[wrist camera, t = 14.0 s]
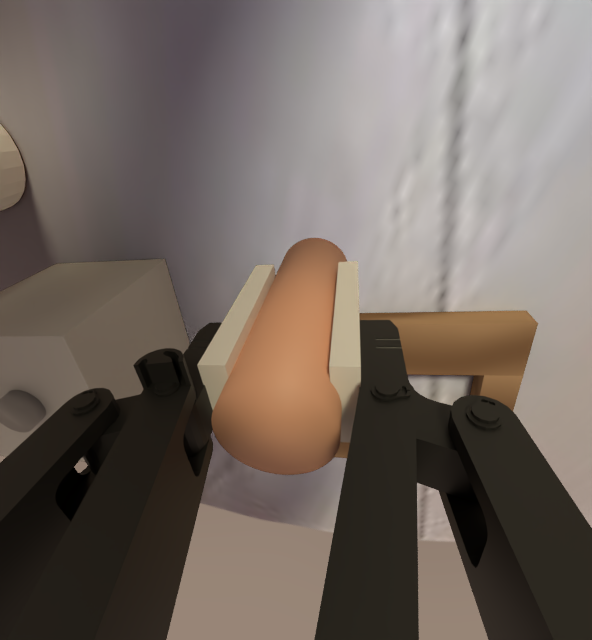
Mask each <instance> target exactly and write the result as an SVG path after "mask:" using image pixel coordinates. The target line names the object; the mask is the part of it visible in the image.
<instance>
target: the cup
mask: <svg viewBox="0 0 592 640" xmlns="http://www.w3.org/2000/svg"><path fill="white" fill-rule="evenodd" d="M25 181H26V178H25V170H24V164H23V162H22V159H21V156H20V153H19V150H18V149H17V147H16V145H15V143H14V142H13V140H12V138H11V136H10V135H9V134H8V132H7V131H6V130H5V129H4V128H3V126H2V125H1V124H0V211H2V210H4V209H7V208H9V207H11V206H13V205H14V204H15V203H17V202H18V201H19V200H20V198H21V196H22V194H23V192H24V188H25Z"/></svg>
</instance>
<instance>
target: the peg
mask: <svg viewBox="0 0 592 640" xmlns="http://www.w3.org/2000/svg"><path fill="white" fill-rule="evenodd" d="M339 262H347V260H346V257H345V255H344V254H343V252H342V251H341V250H340V249H339V248H338V247H337V246H336V245H335V244H333V243H332V242H330V241H327V240H325V239H321V238H308V239H304V240H301V241H299V242H297V243H296V244H294V245H293V246H292V247H291V248H290V249H289V250H288V252H287V253H286V255H285V257H284V259H283V261H282V263H281V266H280V268H279V270H278V272H277V274H276V277H275V279H274V281H273V283H272V285H271V287H270V290H269V292H268V294H267V296H266V298H265V300H264V302H263V305H262V307H261V309H260V311H259V313H258V315H257V317H256V320H255V322H254V324H253V326H252V328H251V330H250V333H249V335H248V337H247V339H246V341H245V343H244V345H243V348H242V350H241V352H240V354H239V356H238V358H237V361H236V363H235V365H234V367H233V369H232V371H231V373H230V376H229V378H228V380H227V381H226V383H225V385H224V388H223V390H222V392H221V394H220V396H219V398H218V400H217V403H216V405H215V407H214V409H213V412H212V418H211V421H212V428H213V432H214V434H215V437H216V438H217V440H218V442H219V443H220V444H221V445H222V447H223V448H224V449H225V450H226V451H227V452H228V453H229V454H231V455H232V456H233V457H234V458H236V459H237V460H239V461H240V462H242V463H244V464H246V465H248V466H250V467H252V468H255V469H258V470H261V471H265V472H269V473H274V474H282V475H294V474H303V473H307V472H311V471H314V470H317V469H319V468H321V467H323V466H324V465H326V464H327V463H328V462H330V461H331V460H332V459H333V458H334V456H335V455H336V453H337V451H338V449H339V446H340V439H341V418H342V404H341V400H340V396H339V394H338V392H337V390H336V389H335V387H334V386H333V384H332V383H331V382H330V373H329V362H330V351H331V340H332V329H333V318H334V307H335V296H336V285H337V274H338V263H339Z"/></svg>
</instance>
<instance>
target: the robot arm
mask: <svg viewBox="0 0 592 640" xmlns="http://www.w3.org/2000/svg"><path fill="white" fill-rule="evenodd" d="M275 277H276V276H275V269H274V265H256V266H255V268H254V270H253V271H252V273H251V275H250V277H249V278H248V280H247V282H246V283H245V285H244V287H243V288H242V290H241V292H240V293H239V295H238V297H237V299H236V300H235V302H234V304H233V305H232V307H231V309H230V310H229V312H228V314H227V316H226V317H225V319H224V321H223V322H222V323H209V324H207V325H206V326H205V327H203V328H202V329H201V330H199V332H198V333H197V335H196V336H195V338H194V339H193V342H191V344H190V345H189V347H188V349H186V351H185V352H184V354H182V352H181V351H180V350H177V349H174V348H164V349H159V350H155V351H153V352H150V353H148V354H146V355H144V356H143V357H141V358H140V359H138V360H137V362H136V363H135V364H134V365H133V366H134V368H135V371H136V373H137V375H138V378H139V380H140V382H141V384H142V387H143V391H142V393H141V394H139V395H135V396H131V397H126V398H121V399H116V400H115V398H114V396H113V394H112V393H111V391H110V390H109V389H106V388H93V389H90V390H86V391H83V392H81V393H79V394H77V395H75V396H74V397H72V398H71V399H70V400H68V401H67V402H66V403H65V404H64V405H62V406H61V407H60V408H59V409H58V410H57V411H56V412H55V413H54V414H53V415H52V416H51V417H49V418H48V419H47V420H46V421H45V422H44V423H43V424H42V425H41V426H40V427H39V428H38V429H36V430H35V431H34V432H33V433H32V434H31V435H30V436H29V437H28V438H27V439H26V440H24V441H23V442H22V443H21V444H20V445H19V446H18V447H17V448H16V449H15V450H14V451H13V452H11V453H10V454H9V455H8V456H7V457H6V458H5V459H4V460H3V461H2V462H1V463H0V640H166V638H167V634H168V630H169V626H170V622H171V618H172V614H173V609H174V606H175V602H176V597H177V594H178V590H179V585H180V582H181V577H182V573H183V569H184V565H185V561H186V557H187V553H188V549H189V545H190V541H191V536H192V533H193V529H194V525H195V521H196V516H197V512H198V508H199V504H200V500H201V496H202V492H203V488H204V484H205V480H206V476H207V472H208V468H209V464H210V460H211V456H212V452H213V442H212V439H211V436H210V435H211V433H212V430H213V428H212V421H211V418H212V412H213V409H214V407H215V405H216V403H217V400H218V398H219V396H220V394H221V392H222V390H223V388H224V385H225V383H226V381H227V380H228V378H229V376H230V373H231V371H232V369H233V367H234V365H235V363H236V361H237V358H238V356H239V354H240V352H241V350H242V348H243V345H244V343H245V341H246V339H247V337H248V335H249V333H250V330H251V328H252V326H253V324H254V322H255V320H256V317H257V315H258V313H259V311H260V309H261V307H262V305H263V302H264V300H265V298H266V296H267V294H268V292H269V290H270V287H271V285H272V283H273V281H274V279H275ZM329 373H330V382H331V383H332V384H333V386H334V387H335V389H336V390H337V392H338V394H339V396H340V400H341V404H342V418H341V439H340V442H349V443H350V444H349V450H348V456H347V461H346V467H345V472H344V478H343V484H342V489H341V495H340V500H339V506H338V511H337V517H336V523H335V528H334V534H333V539H332V545H331V551H330V556H329V562H328V567H327V573H326V579H325V584H324V590H323V596H322V601H321V606H320V612H319V618H318V623H317V629H316V635H315V640H419V634H418V633H419V632H418V552H417V551H418V547H417V483H420V484H423V485H426V486H428V487H431V488H434V489H436V490H439V493H440V496H441V499H442V502H443V505H444V508H445V511H446V514H447V517H448V520H449V523H450V526H451V529H452V532H453V535H454V538H455V541H456V544H457V546H458V550H459V552H460V555H461V559H462V561H463V565H464V567H465V571H466V574H467V577H468V580H469V583H470V586H471V588H472V592H473V594H474V597H475V600H476V603H477V606H478V609H479V612H480V615H481V618H482V621H483V624H484V627H485V630H486V633H487V636H488V639H489V640H592V528H591V527H590V525H589V524H588V522H587V521H586V519H585V518H584V516H583V515H582V513H581V512H580V510H579V509H578V507H577V506H576V504H575V503H574V501H573V500H572V498H571V497H570V495H569V494H568V492H567V491H566V489H565V488H564V486H563V485H562V483H561V482H560V480H559V479H558V477H557V476H556V474H555V473H554V471H553V470H552V468H551V467H550V465H549V464H548V462H547V461H546V459H545V458H544V456H543V455H542V453H541V452H540V450H539V449H538V447H537V446H536V444H535V443H534V441H533V440H532V438H531V437H530V435H529V434H528V432H527V431H526V429H525V428H524V426H523V425H522V423H521V422H520V420H519V419H518V417H517V416H516V415H515V414H514V412H513V411H512V410H511V409H510V408H509V407H508V406H506V405H504V404H503V403H501V402H499V401H498V400H495V399H492V398H489V397H486V396H478V395H469V396H464V397H461V398H459V399H458V400H456V401H455V402H454V403H453V406H451V405H447V404H443V403H439V402H436V401H433V400H430V399H427V398H425V397H424V396H422V395H420V394H419V393H417V392H416V391H415V390H414V388H413V387H412V386H411V384H410V383H409V380H408V376H407V371H406V366H405V361H404V356H403V351H402V346H401V341H400V336H399V331H398V328H397V327H396V326H395V325H394V324H393V323H392V321H391V320H359V285H358V261H352V262H339V263H338V274H337V285H336V296H335V307H334V318H333V329H332V340H331V351H330V362H329ZM82 457H83V458H84V460H85V462H86V463H87V465H88V466H87V468H86V469H84V470H83V471H82V472H81V473H77V471H76V470H75V468H74V466H75V465H76V464H77V463H78V461H79V460H80V459H81V458H82Z"/></svg>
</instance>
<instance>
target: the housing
mask: <svg viewBox="0 0 592 640" xmlns="http://www.w3.org/2000/svg"><path fill="white" fill-rule="evenodd" d="M189 345H190V343H189V339H188V336H187V333H186V329H185V326H184V322H183V319H182V315H181V312H180V309H179V305H178V302H177V298H176V295H175V292H174V288H173V285H172V281H171V278H170V274H169V271H168V268H167V264H166V261H165V259H149V260H127V261H105V262H83V263H60V264H55V265H53V266H51V267H49V268H47V269H45V270H42V271H40V272H38V273H36V274H34V275H32V276H30V277H28V278H26V279H24V280H22V281H20V282H18V283H16V284H14V285H12V286H10V287H8V288H6V289H4V290H2V291H0V456H6V457H7V456H8V455H9V454H10V453H11V452H13V451H14V450H15V449H16V448H17V447H18V446H19V445H20V444H21V443H22V442H23V441H24V440H26V439H27V438H28V437H29V436H30V435H31V434H32V433H33V432H34V431H35V430H36V429H38V428H39V427H40V426H41V425H42V424H43V423H44V422H45V421H46V420H47V419H48V418H49V417H51V416H52V415H53V414H54V413H55V412H56V411H57V410H58V409H59V408H60V407H61V406H62V405H64V404H65V403H66V402H67V401H68V400H70V399H71V398H72V397H74V396H75V395H77V394H79V393H81V392H83V391H86V390H90V389H93V388H106V389H109V390H110V391H111V393H112V394H113V396H114V398H115V400H116V399H121V398H126V397H131V396H135V395H139V394H141V393H142V391H143V387H142V384H141V382H140V380H139V378H138V375H137V373H136V371H135V368H134V366H133V365H134V364H135V363H136V362H137V360H138V359H140V358H141V357H143V356H144V355H146V354H148V353H150V352H153V351H155V350H159V349H164V348H174V349H177V350H180V351H181V352H182V354H184V352H185V351H186V349H188V347H189ZM79 461H85V460H84V458H83V457H82V458H81V459H80V460H79Z"/></svg>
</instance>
